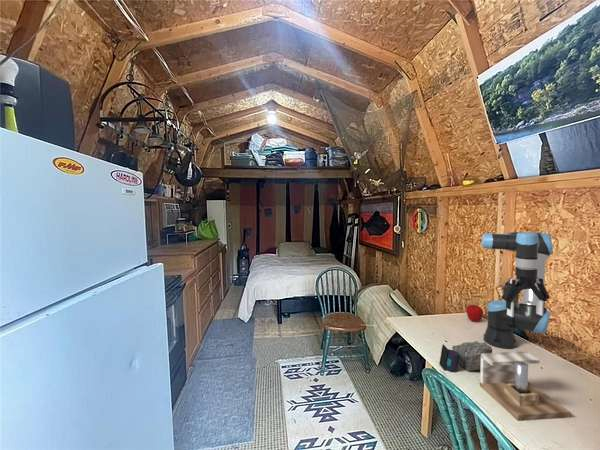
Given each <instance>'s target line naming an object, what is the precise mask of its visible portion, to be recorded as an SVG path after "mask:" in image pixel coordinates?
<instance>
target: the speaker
mask: <svg viewBox="0 0 600 450" xmlns="http://www.w3.org/2000/svg"><path fill="white" fill-rule="evenodd" d="M440 351H441V352H440V357H439V366H440V367H441V368H442V370H443V371H446V370H448V371H449V372H454V373H455V372H457V371H458V366H459V363H458V362H459V356H460V354H459V353H458V352H456V351H454V350H453V349H449V348H447V346H445V344H442V345H441V350H440Z"/></svg>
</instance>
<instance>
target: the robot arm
mask: <svg viewBox="0 0 600 450" xmlns="http://www.w3.org/2000/svg"><path fill="white" fill-rule="evenodd" d="M481 247H482V248H484V249H487V250H505V251H510V252H515V276H516V277H515V279H514V278H508V282H507V285H506V287H505V289H504V292H503V294H502V296H501V300H500V299H499V300H492V301H489V302H488V304H487V325H486V326H487V327H486V330H485V332H484V334H483V341H484V343H486V344H487V345H488V344H489V346H491V347H496V348H500V349H507V350H508V349H509V350H510V349H515V348H517V340H516V336H515V334H514V329H519V330H522V331H527V332H531V333H534V334H535V333H537V334H541V335H543V334H546V333H547V331H548V328H549V323H550V319H551V318H550V317H551V312H550V311H548V307H547V306H546V305H545V304H546V303H545V302H548V300H550V298H551V297H550V295H549V293H548V291H547V288H546V285H545V280H546V279H545V277H546V275H545V274H546V260H549V258H550V256H552V255H554V250H553V242H552V235H551V234H549V233H546V232H527V231H524V232H522V231H512V232H503V233H483V234H482V236H481ZM521 291H523V292H522V300H521V301H520V302H519V303H518V305H515V303H514V302H513V301H514V300H515V298H516V297H517V296H518V295H519V293H521Z"/></svg>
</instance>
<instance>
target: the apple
mask: <svg viewBox="0 0 600 450" xmlns="http://www.w3.org/2000/svg"><path fill="white" fill-rule="evenodd" d="M465 312H466V316H467V318H468V320H470V321H472V322H481V320H482V318H483V316H484V310H483V308H482V307H481V306H478V305H475V304H469V305H468V306H466V308H465Z"/></svg>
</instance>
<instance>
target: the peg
mask: <svg viewBox="0 0 600 450" xmlns="http://www.w3.org/2000/svg"><path fill="white" fill-rule="evenodd" d="M528 382H529V364H528V365H527V364H526V363H523V362H515V388H514V389H515V390H516V391H517V392H519V393H520V394H525V393H527V392H528Z"/></svg>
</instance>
